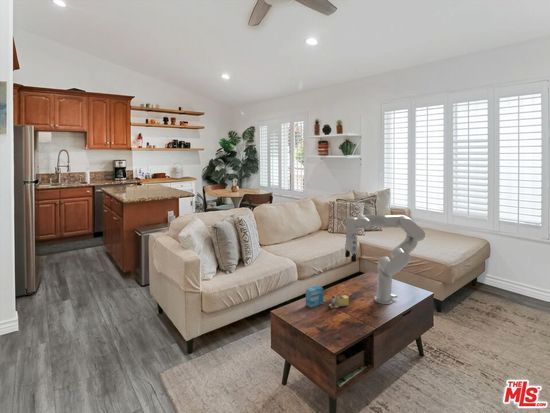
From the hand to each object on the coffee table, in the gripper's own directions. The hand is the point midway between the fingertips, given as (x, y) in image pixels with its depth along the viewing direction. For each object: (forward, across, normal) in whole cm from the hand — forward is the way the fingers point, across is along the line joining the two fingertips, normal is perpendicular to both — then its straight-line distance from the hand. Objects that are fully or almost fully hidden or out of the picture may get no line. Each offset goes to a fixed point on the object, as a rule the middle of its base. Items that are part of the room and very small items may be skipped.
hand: (350, 259), depth 233 cm
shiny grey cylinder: (+29, -7, +14) cm, 33 cm away
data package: (+31, -2, +26) cm, 40 cm away
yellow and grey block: (+30, -5, +7) cm, 32 cm away
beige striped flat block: (+30, -7, +14) cm, 34 cm away
